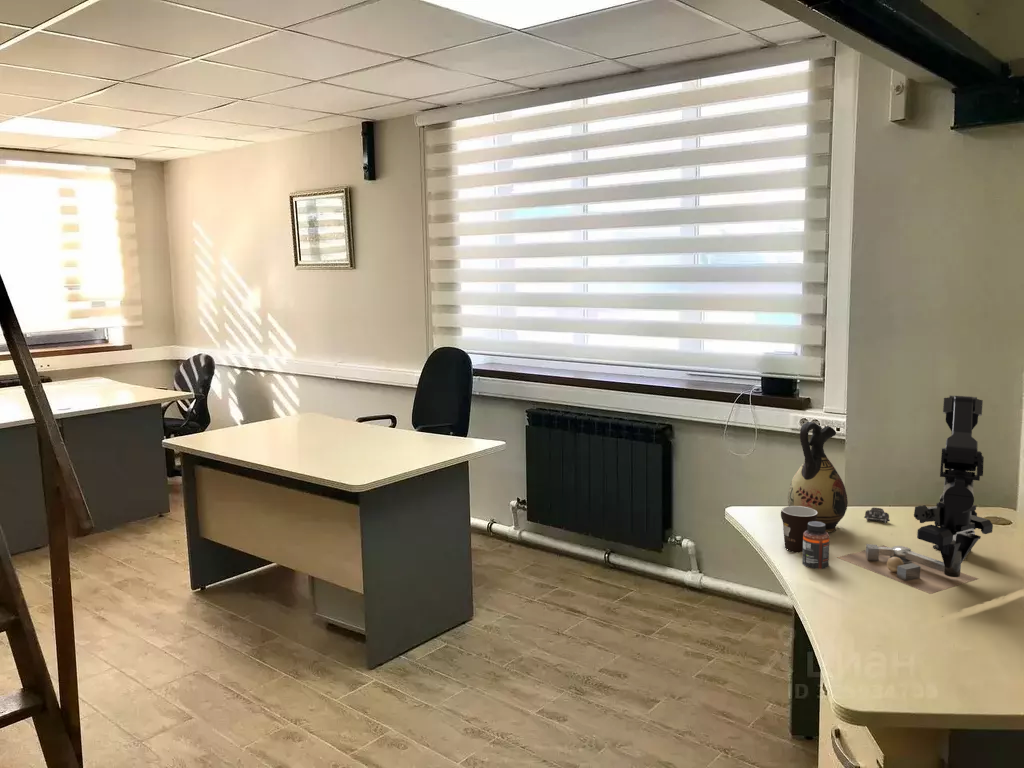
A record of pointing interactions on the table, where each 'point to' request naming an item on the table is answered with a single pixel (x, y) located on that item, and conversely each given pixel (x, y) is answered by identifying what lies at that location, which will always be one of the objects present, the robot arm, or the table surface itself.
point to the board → (927, 582)
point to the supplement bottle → (816, 546)
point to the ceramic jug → (818, 479)
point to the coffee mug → (796, 525)
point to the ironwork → (908, 570)
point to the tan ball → (894, 563)
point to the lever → (915, 558)
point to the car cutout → (877, 515)
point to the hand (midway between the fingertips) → (952, 566)
